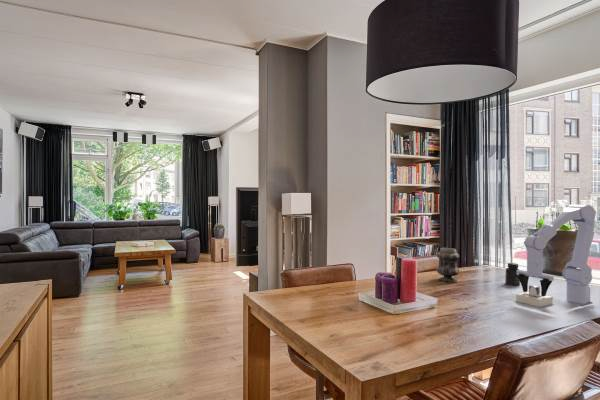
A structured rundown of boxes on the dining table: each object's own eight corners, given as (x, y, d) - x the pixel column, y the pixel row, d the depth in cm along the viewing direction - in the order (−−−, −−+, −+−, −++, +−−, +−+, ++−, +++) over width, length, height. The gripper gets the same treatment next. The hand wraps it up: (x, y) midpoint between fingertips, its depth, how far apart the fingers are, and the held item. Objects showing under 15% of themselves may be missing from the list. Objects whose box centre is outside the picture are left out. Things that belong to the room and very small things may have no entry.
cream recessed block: (524, 294, 176) (524, 285, 176) (565, 303, 161) (565, 294, 161) (499, 299, 167) (499, 290, 167) (541, 310, 151) (541, 300, 151)
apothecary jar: (460, 279, 206) (461, 248, 206) (457, 284, 196) (457, 250, 196) (438, 277, 213) (438, 246, 212) (434, 281, 202) (434, 249, 202)
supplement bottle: (519, 288, 188) (519, 265, 187) (504, 286, 192) (504, 263, 192) (520, 285, 193) (521, 263, 193) (506, 283, 197) (506, 262, 197)
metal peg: (531, 300, 162) (531, 284, 162) (541, 302, 159) (541, 286, 159) (527, 301, 160) (527, 285, 160) (537, 304, 156) (537, 287, 156)
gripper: (512, 261, 163) (512, 291, 163) (547, 266, 151) (547, 299, 151) (521, 259, 167) (521, 289, 167) (556, 265, 154) (556, 296, 154)
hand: (534, 293), depth 159 cm, fingers open, 7 cm apart
